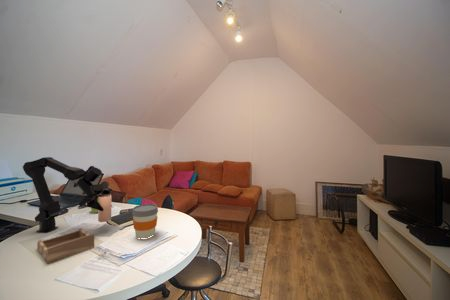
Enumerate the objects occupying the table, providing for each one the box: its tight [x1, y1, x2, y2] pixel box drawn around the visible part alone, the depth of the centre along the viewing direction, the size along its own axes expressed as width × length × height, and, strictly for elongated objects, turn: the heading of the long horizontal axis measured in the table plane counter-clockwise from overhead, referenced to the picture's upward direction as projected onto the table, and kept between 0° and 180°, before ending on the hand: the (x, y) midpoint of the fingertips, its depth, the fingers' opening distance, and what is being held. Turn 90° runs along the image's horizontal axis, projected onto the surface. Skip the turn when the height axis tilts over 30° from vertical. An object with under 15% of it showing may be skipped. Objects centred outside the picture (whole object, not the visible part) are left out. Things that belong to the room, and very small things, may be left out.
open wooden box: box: [36, 228, 95, 265], centre depth 89 cm, size 18×16×7 cm
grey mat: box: [88, 224, 126, 238], centre depth 107 cm, size 13×13×1 cm
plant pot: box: [90, 198, 98, 214], centre depth 138 cm, size 9×9×9 cm
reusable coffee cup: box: [131, 203, 159, 239], centre depth 103 cm, size 13×13×15 cm
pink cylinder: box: [97, 194, 112, 223], centre depth 106 cm, size 6×6×13 cm
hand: (107, 208), depth 105 cm, fingers closed on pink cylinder, 6 cm apart
